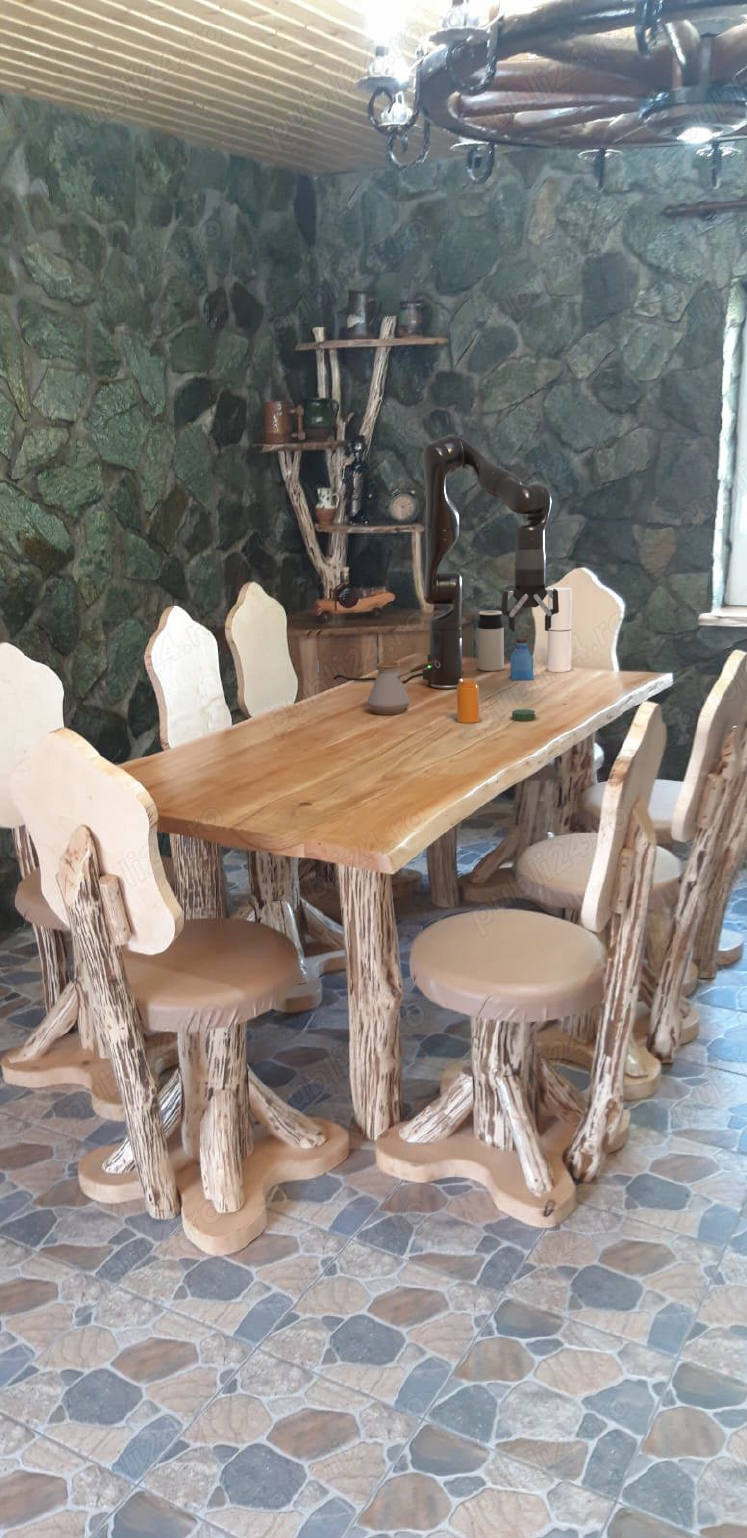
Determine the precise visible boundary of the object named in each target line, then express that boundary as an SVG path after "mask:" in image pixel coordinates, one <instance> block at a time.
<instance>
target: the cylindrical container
mask: <svg viewBox="0 0 747 1538" xmlns="http://www.w3.org/2000/svg"><path fill="white" fill-rule="evenodd" d="M552 589H556V590H557V591H558V604H559V612H558V613H556V614H553V615H552V616H551V628H550V629H549V630H548V631H547V671H548V672H553V673H564V672H570V671H571V670H572V617H573V616H572V613H573V612H572V609H573V607H572V605H573V603H572V602H573V588H571V587H550V588H548V589H547V590H552ZM547 607H548V609H549V610H550V609H553V603H552V598H550V597H549V595H548V594H547Z"/></svg>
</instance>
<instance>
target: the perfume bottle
mask: <svg viewBox="0 0 747 1538" xmlns="http://www.w3.org/2000/svg"><path fill="white" fill-rule="evenodd" d="M527 641H528V638H527V637H516V642H515V647H516V648H513V651H512V652H511V655H510V657H509V659H510V665H509V666H510V679H511V681H533V680H534V658H533V656H532V653H531V652H530V649H529V648H528V644H529V643H528V642H527Z"/></svg>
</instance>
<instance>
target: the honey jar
mask: <svg viewBox="0 0 747 1538" xmlns="http://www.w3.org/2000/svg"><path fill="white" fill-rule="evenodd" d="M458 683H459V685H458V686H457V688H456V721H457V722H458V723H463V724H472V723H473V724H474V723H478V722H480V685H479V684H478V679H477V678H473V677H464V678H463V677H462V679H459V682H458Z"/></svg>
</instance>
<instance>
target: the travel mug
mask: <svg viewBox="0 0 747 1538" xmlns="http://www.w3.org/2000/svg"><path fill="white" fill-rule="evenodd" d="M478 615H479V620H478V622H477V667H478V668H477V669H478V670H480V671H483V672H500V671H502V670H503V669H504V668H505V650H504V649H505V648H504V647H505V646H504V645H505V640H504V639H505V635H504V634H505V633H504V632H505V631H504V628H505V625H504V624H505V623H504V620H503V618H502V616H503V614H502V612H501V610H481V611H479V612H478Z"/></svg>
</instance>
